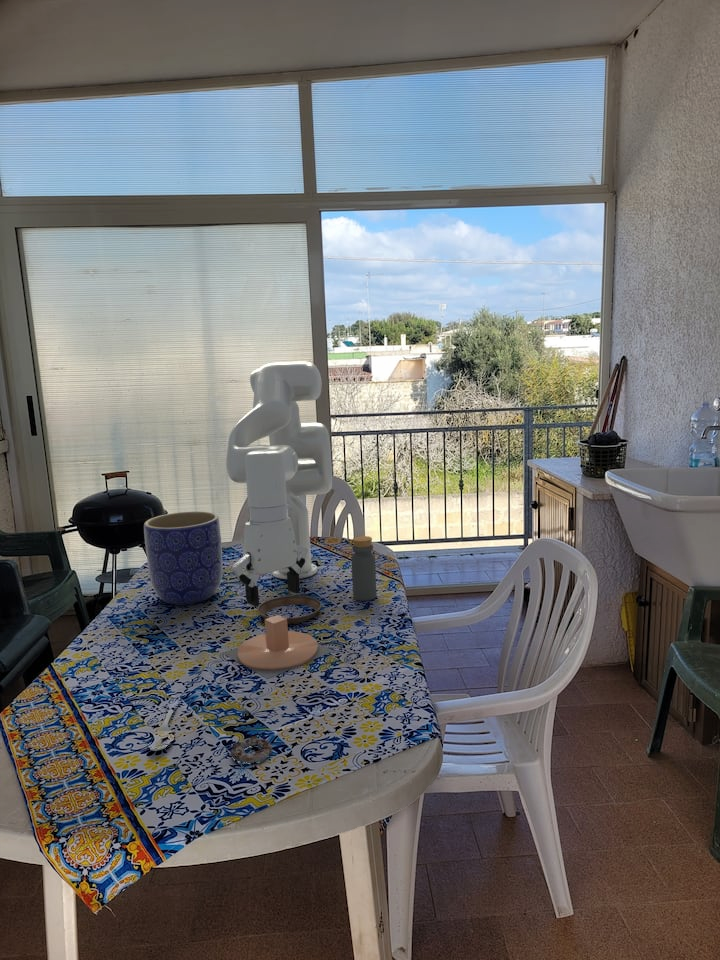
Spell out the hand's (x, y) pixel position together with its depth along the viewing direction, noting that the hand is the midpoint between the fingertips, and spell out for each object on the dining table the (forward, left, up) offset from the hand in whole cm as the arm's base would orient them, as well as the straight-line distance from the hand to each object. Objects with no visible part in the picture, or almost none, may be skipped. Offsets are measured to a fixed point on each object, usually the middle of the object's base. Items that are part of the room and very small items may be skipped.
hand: (274, 598), depth 129 cm
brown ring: (-15, +14, -13) cm, 25 cm away
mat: (0, 0, -12) cm, 12 cm away
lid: (0, 0, -12) cm, 12 cm away
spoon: (+7, -27, -13) cm, 30 cm away
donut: (+25, -23, -13) cm, 36 cm away
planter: (-45, +4, -12) cm, 47 cm away
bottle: (-11, +34, -12) cm, 38 cm away
